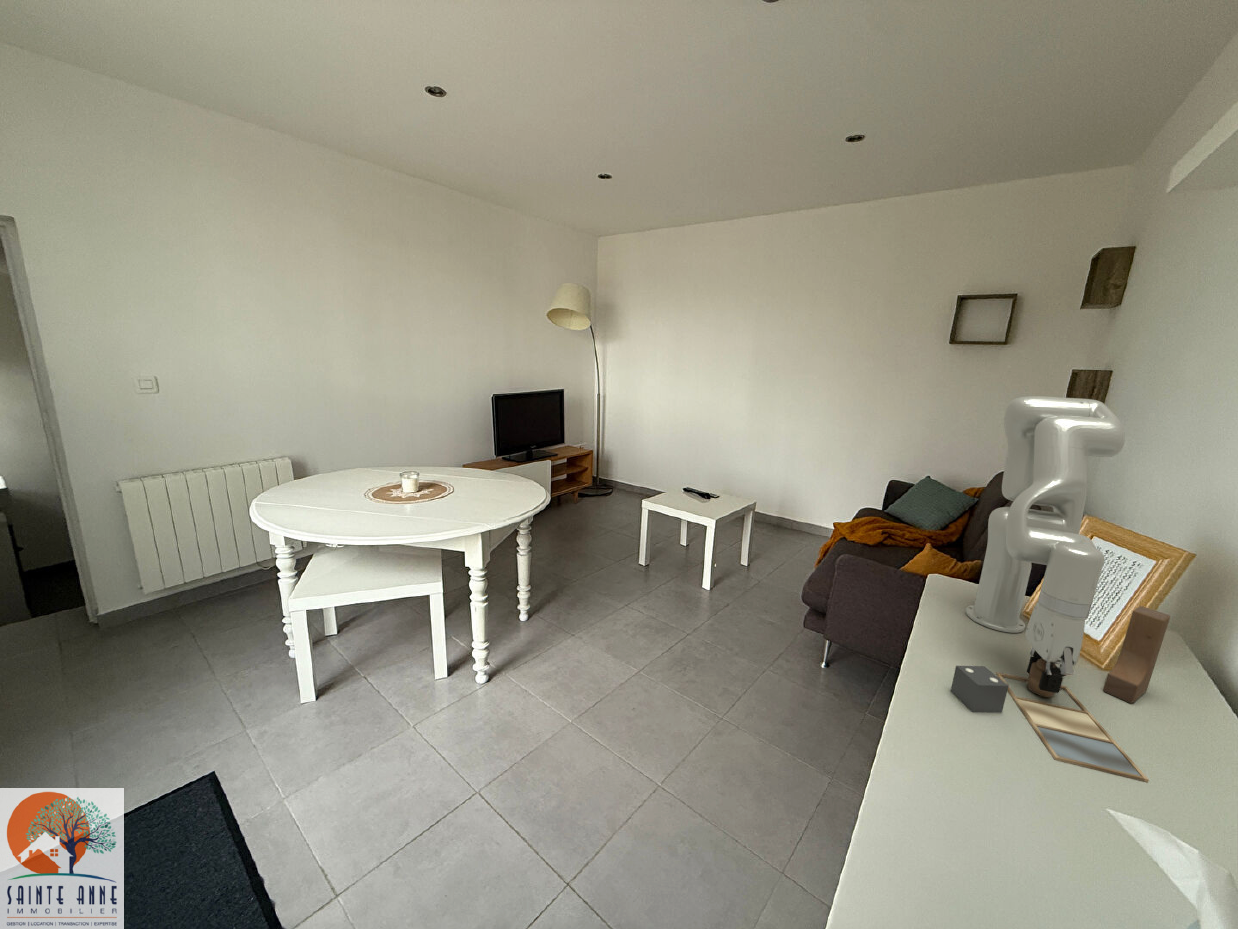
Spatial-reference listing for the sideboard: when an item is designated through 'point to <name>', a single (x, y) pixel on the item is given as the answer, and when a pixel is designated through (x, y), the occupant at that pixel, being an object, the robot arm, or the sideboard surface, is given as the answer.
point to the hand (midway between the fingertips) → (1042, 682)
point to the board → (1075, 735)
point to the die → (979, 689)
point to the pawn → (1038, 678)
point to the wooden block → (1137, 655)
